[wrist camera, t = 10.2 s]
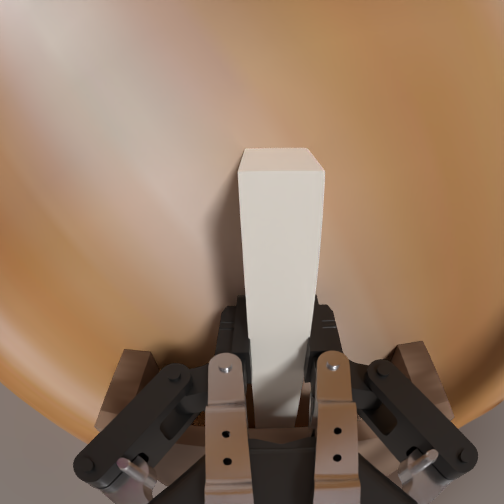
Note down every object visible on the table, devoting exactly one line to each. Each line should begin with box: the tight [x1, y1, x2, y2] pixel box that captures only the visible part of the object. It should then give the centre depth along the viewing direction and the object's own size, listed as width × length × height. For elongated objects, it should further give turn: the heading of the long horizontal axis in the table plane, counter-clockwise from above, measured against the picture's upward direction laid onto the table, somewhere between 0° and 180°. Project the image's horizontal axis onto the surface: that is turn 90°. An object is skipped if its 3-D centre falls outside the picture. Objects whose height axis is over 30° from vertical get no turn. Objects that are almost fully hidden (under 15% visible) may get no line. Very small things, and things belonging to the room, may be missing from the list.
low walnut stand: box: [94, 341, 454, 486], centre depth 18 cm, size 20×14×6 cm
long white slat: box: [238, 148, 325, 429], centre depth 16 cm, size 8×26×4 cm, turn 2°
